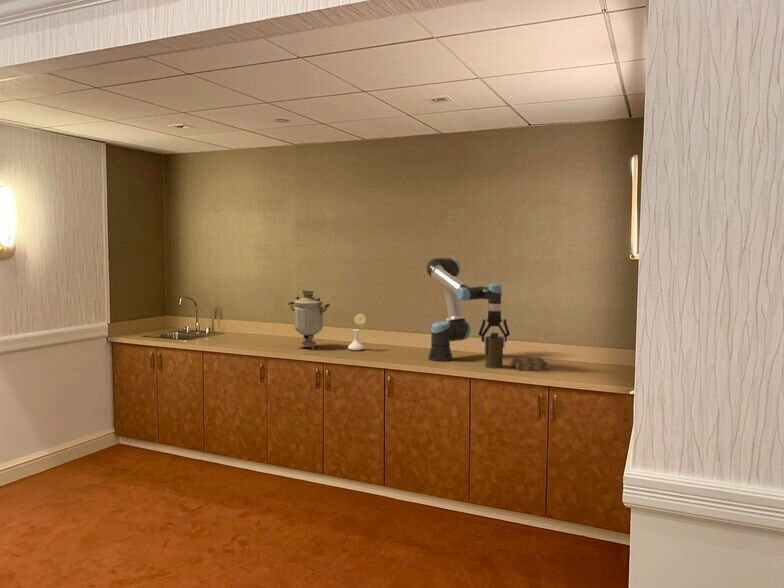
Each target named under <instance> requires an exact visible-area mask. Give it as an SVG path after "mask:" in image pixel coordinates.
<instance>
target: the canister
mask: <svg viewBox="0 0 784 588" xmlns="http://www.w3.org/2000/svg"><path fill="white" fill-rule="evenodd" d="M499 335H500V333H499V332H491V333H490V335H489V336H485V348H484V356H485V361H484V362H485V365H484V367H486V368H489V369H501V368H503V367H504V366H503V360H504V359H503V355H504V354H503V352H504V350H503V349H504V348H503V336H499Z"/></svg>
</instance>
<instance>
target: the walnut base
mask: <svg viewBox="0 0 784 588" xmlns="http://www.w3.org/2000/svg"><path fill="white" fill-rule="evenodd" d="M510 365H512V366H513V367H514V368H515V370H517V371H518V370H519V371H550V364H549V363H548V362H547V361H546V360H544V359H543V358H541V357H511V358H510Z"/></svg>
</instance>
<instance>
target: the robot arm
mask: <svg viewBox="0 0 784 588" xmlns="http://www.w3.org/2000/svg"><path fill="white" fill-rule="evenodd" d="M425 270H426V272H427V275H428V276H429V277H431V278H432V279H433V280H437V281H438V282H440V283H441V284H443V289H444V290H443V291H444V297H445V303H446V308H447V309H446V311H447V316H448V319H447V320H442V321H436V322H433V323H432V325H431V330H430V332H431V338H430V339H431V340H430V341H431V345H430V346H431V347H430V350H429V352H428V355H427V357H428V360H430V361H433V362H448V361H452V360H453V353H452V350H451V346H450V345H451V342H461V341H464V340H467V339H468V338H469V337H470V335H471V331H472V330H471V329H472V327H471V325H470V323H469V322H468V321H466V318H465V317H464V316H463V313H462V312H463V311H462V307H461V303H460V301H472V300H473V301H477V300H488V303H487V305H488V306H487V308H488V309H487V310H488V311H487V318H486V319H484V318H483V319H482V323H481V326H480V329H479V331H478V335H479V337H481V343H482V347H483V348H484V349H485V337H486V334H487V332H488V331H489V329H490V328H491V327H498V328H499V330H500V332H501V333H502V335H503V336H502V337H503V349H505V348H506V342H507V337H508V336H509V337H510V334H511V333H510V330H509V327H508V324H507V319H506V318H504V319H503V318H502V311H501V310H502V291H503V290H502V285H501V284H497V283H490V284H488V286H482V285H479V286H472V287H470V286H468V285H467V284H465V283H463V281H461V280H460V279H458V277H459V274H460V272H461V265H460V262H459V261H458V259H455V258H452V257H443V258H442V257H438V258H437V257H436V258H432V259H430V260H429V261H428V262H427V264H426V267H425ZM486 323H488V324H487V326H486ZM501 323H503V326H504V328H503V327H502V326H501ZM485 326H486V327H485ZM484 328H485V329H484ZM504 329H505V330H504Z"/></svg>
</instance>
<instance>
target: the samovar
mask: <svg viewBox="0 0 784 588" xmlns="http://www.w3.org/2000/svg"><path fill="white" fill-rule="evenodd" d="M301 292H302V295H303V297H301V298H300V296H296V300H293V301H290V302H288V303H287V305H288V306H290V310H291V311H292V312H294V316H293V317H294V329H295V331H296V332H297V333H299V334H300V335H302V337H303V339H304V340H303V341H302V342H301V343H300V346H299V347H298V349H299V350H301V349H302V348H311V350H316V349H315V347H319V345H318V344H317V342H315V341H314V340H313V339H314V338H315V337H314V336H315V335H317V334H318V333H320V332H321V331H322V330H323V327H324V323H323V322H324V321H323V319H324V317H323V316H324V314H323V313H326V311H327V309H328V307H330V303H327V304H324V303H323V302H324V300H322V299H321V298H320V297H317V298H316V297H314V292H315V289H302V290H301ZM323 304H324V305H323Z"/></svg>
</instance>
